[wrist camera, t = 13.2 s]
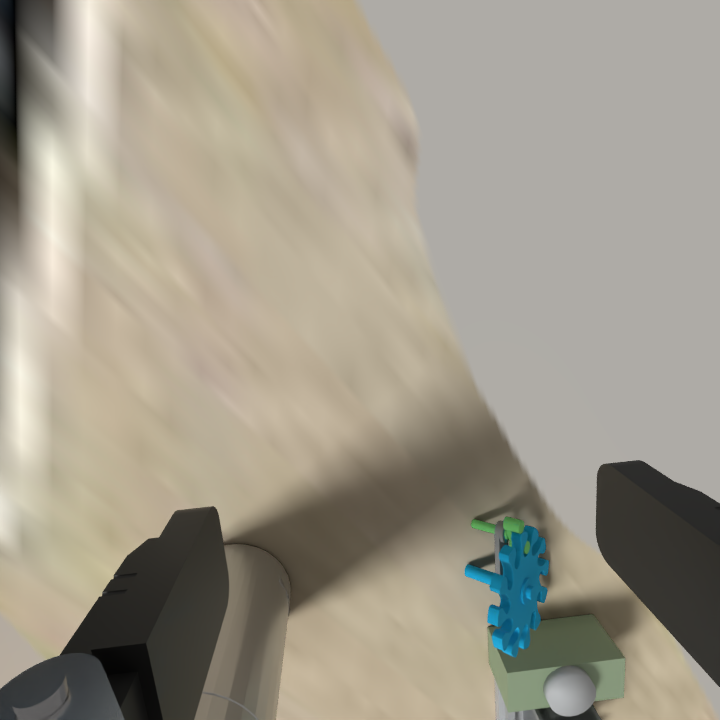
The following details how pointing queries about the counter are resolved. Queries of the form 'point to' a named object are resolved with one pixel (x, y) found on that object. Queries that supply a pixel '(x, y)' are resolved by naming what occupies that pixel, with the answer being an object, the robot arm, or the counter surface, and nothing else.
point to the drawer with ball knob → (558, 669)
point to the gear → (513, 582)
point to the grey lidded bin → (546, 716)
